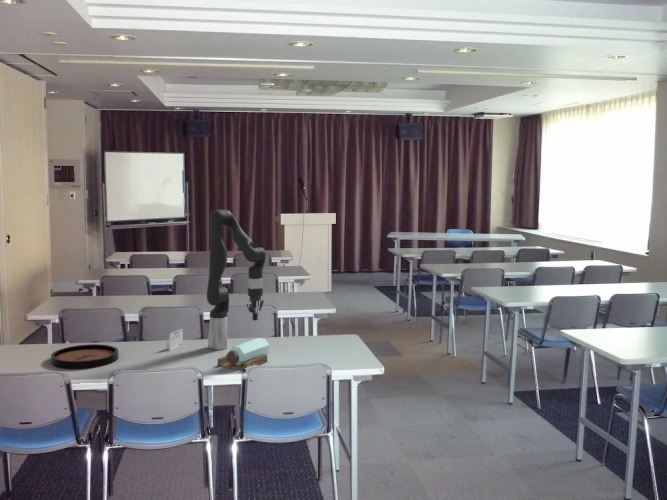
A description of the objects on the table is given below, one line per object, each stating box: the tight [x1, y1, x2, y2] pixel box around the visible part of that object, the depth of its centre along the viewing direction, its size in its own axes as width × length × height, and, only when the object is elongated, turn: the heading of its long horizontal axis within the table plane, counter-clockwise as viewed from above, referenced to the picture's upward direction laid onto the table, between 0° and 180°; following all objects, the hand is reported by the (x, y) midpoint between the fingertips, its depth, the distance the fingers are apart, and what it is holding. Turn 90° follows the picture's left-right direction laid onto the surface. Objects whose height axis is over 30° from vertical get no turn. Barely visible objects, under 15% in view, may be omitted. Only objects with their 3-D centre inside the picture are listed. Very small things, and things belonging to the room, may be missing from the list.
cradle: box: [217, 354, 268, 371], centre depth 311 cm, size 17×18×4 cm
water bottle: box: [226, 337, 270, 366], centre depth 313 cm, size 10×10×25 cm
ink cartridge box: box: [165, 328, 184, 351], centre depth 337 cm, size 2×11×10 cm, turn 155°
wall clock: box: [50, 343, 120, 370], centre depth 313 cm, size 31×4×31 cm
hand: (255, 320), depth 319 cm, fingers closed
